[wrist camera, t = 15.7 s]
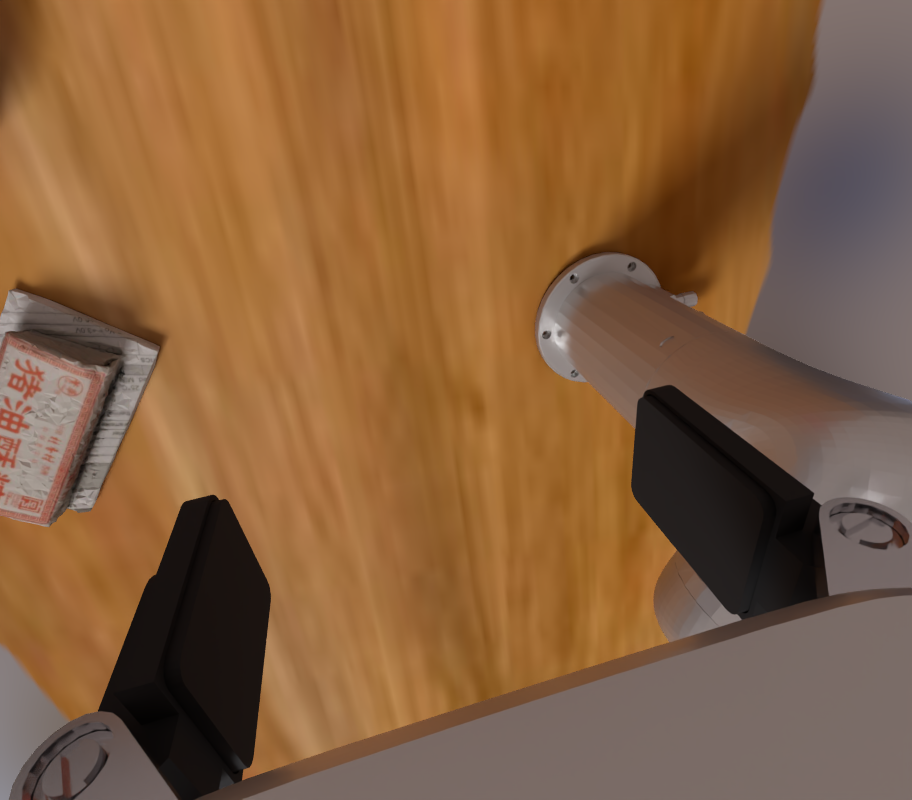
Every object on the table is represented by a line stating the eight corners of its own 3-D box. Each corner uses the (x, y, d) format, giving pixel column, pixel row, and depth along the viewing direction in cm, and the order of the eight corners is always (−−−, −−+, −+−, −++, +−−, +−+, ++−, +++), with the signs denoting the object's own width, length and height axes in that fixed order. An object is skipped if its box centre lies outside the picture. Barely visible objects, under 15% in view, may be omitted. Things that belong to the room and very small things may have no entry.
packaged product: (74, 542, 41) (-80, 508, 37) (96, 504, 45) (-40, 469, 41) (147, 368, 36) (-23, 304, 31) (165, 342, 40) (17, 283, 36)
